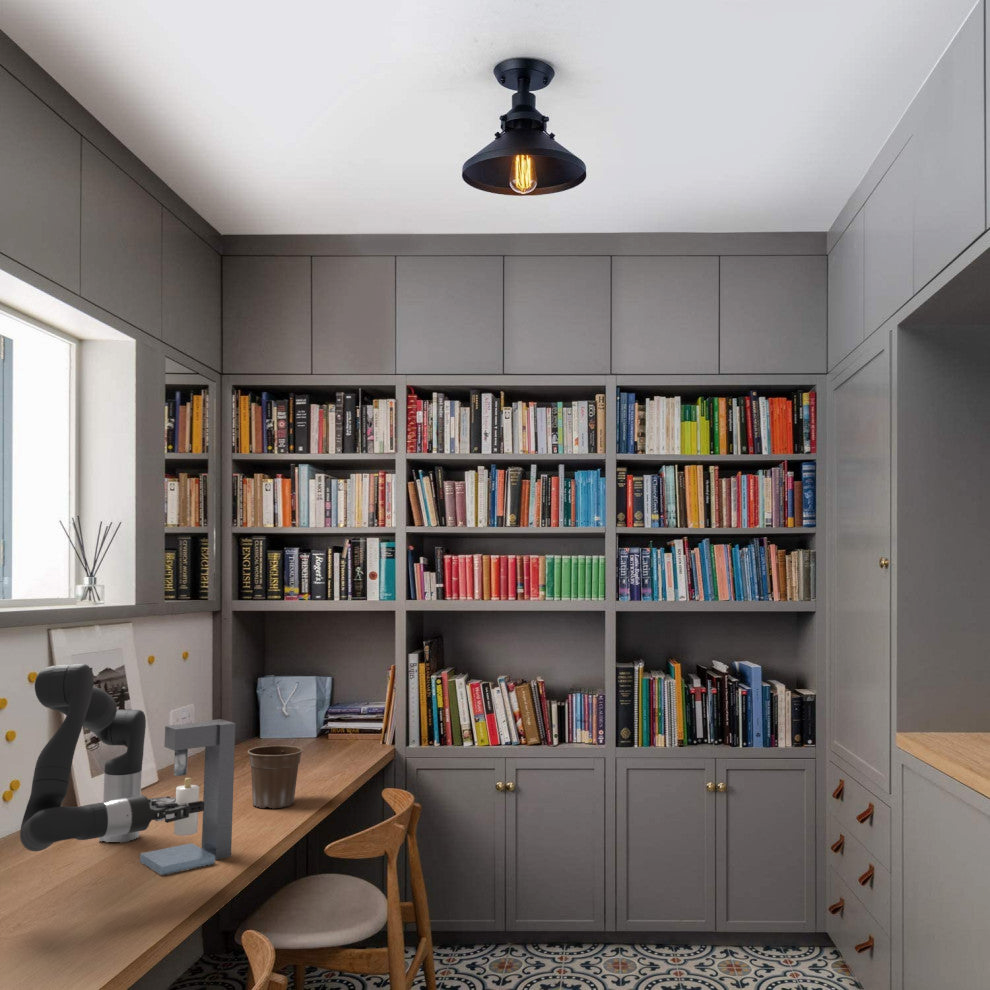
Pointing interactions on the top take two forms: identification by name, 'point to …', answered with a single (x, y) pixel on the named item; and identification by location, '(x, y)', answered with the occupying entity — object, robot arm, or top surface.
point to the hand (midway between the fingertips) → (197, 803)
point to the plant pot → (274, 775)
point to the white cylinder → (183, 795)
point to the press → (216, 796)
